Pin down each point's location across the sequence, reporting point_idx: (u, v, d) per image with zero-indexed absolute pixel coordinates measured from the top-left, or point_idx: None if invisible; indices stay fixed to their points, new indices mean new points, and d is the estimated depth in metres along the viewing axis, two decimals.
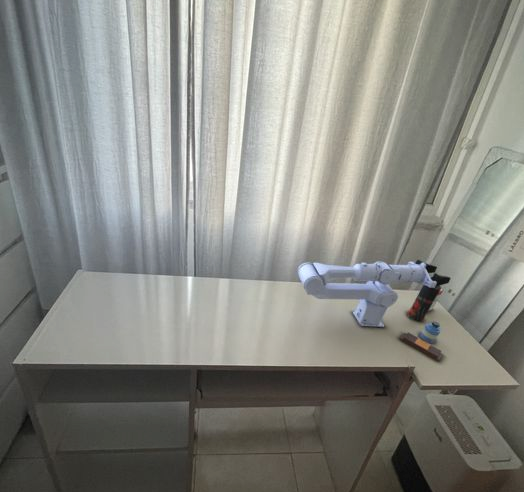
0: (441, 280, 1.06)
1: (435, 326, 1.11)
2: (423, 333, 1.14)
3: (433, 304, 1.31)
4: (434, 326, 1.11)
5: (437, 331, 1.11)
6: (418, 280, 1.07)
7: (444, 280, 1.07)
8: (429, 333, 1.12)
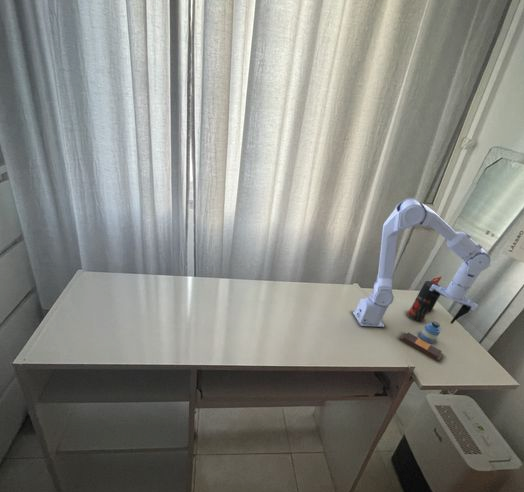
0: None
1: (435, 326, 1.11)
2: (423, 333, 1.14)
3: None
4: (434, 326, 1.11)
5: (437, 331, 1.11)
6: (463, 296, 1.02)
7: None
8: (429, 333, 1.12)
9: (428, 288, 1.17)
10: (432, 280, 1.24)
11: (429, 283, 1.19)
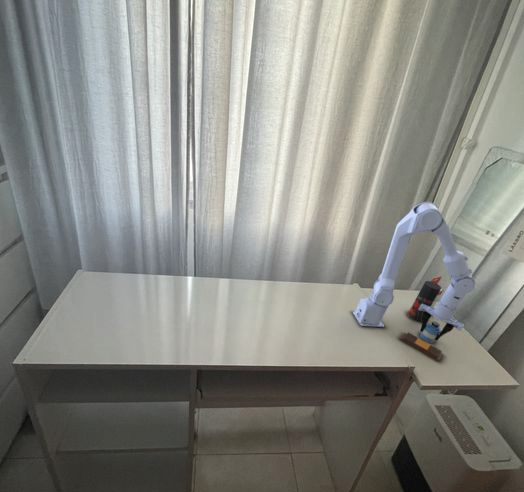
0: None
1: (435, 326, 1.11)
2: (423, 333, 1.14)
3: (433, 304, 1.31)
4: (434, 326, 1.11)
5: (437, 331, 1.11)
6: (450, 316, 1.07)
7: None
8: (429, 333, 1.12)
9: (428, 288, 1.17)
10: (432, 280, 1.24)
11: (429, 283, 1.19)
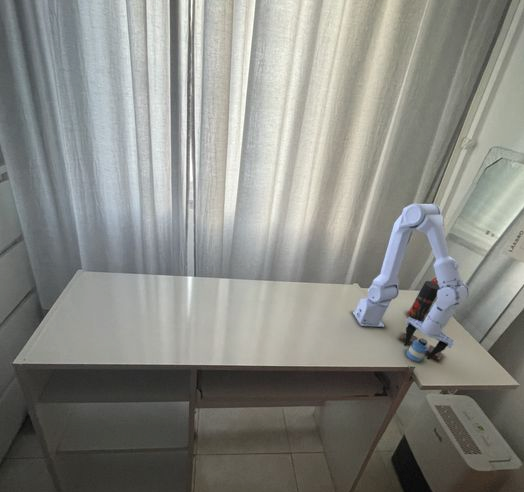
0: None
1: (422, 344, 1.01)
2: (409, 351, 1.04)
3: (433, 304, 1.31)
4: (421, 344, 1.01)
5: (425, 349, 1.01)
6: (439, 332, 0.96)
7: None
8: (415, 351, 1.01)
9: (428, 288, 1.17)
10: (432, 280, 1.24)
11: (429, 283, 1.19)
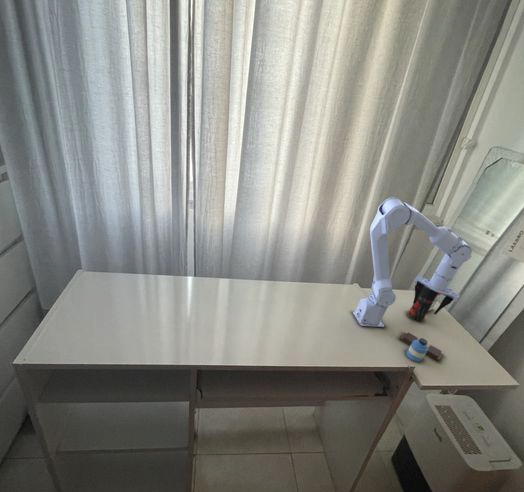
0: None
1: (422, 344, 1.01)
2: (409, 351, 1.04)
3: (433, 304, 1.31)
4: (421, 344, 1.01)
5: (425, 349, 1.01)
6: (446, 287, 1.06)
7: None
8: (415, 351, 1.01)
9: (428, 288, 1.17)
10: None
11: None
